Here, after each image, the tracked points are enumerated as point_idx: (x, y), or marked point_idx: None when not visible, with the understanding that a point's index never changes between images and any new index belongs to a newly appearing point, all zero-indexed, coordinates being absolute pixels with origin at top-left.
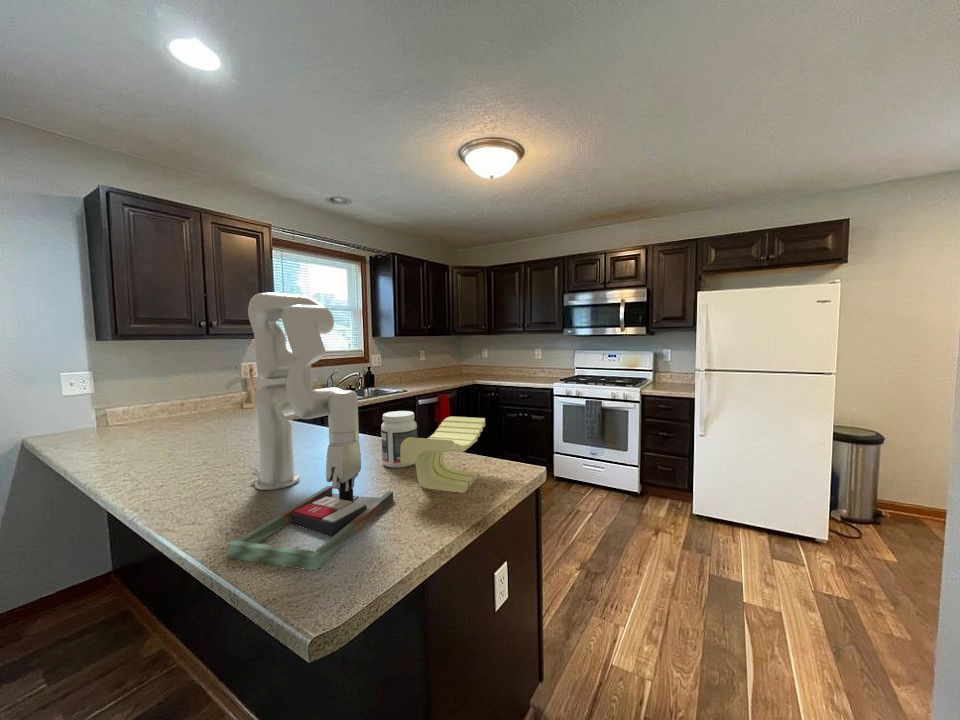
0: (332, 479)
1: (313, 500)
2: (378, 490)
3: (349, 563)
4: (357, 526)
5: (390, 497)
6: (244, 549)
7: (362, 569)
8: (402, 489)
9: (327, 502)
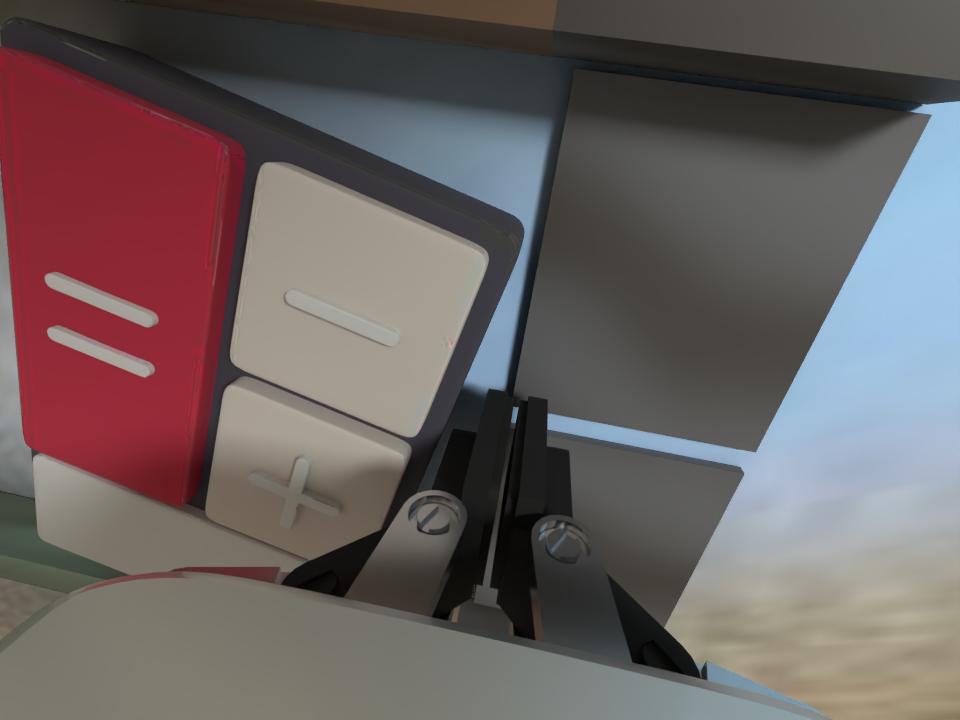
0: (286, 605)
1: (503, 34)
2: (900, 561)
3: (14, 581)
4: None
5: None
6: None
7: (17, 620)
8: (861, 694)
9: (302, 369)
